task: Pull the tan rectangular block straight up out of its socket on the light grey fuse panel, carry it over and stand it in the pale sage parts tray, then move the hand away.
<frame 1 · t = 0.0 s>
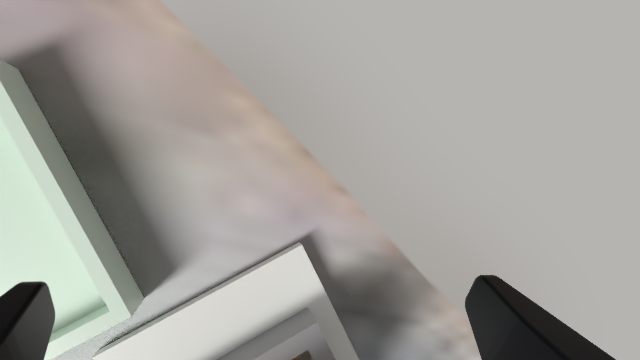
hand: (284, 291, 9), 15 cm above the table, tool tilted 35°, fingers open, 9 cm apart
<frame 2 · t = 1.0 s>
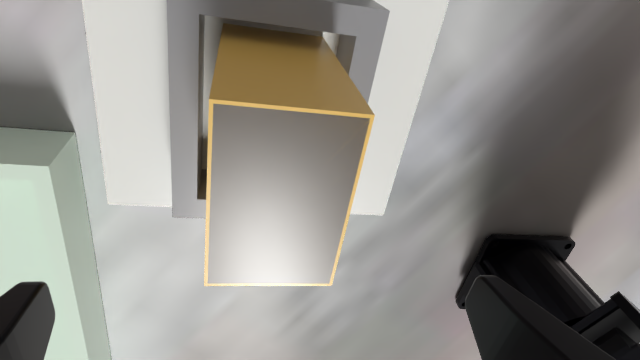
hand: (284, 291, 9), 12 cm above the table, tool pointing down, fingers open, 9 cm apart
fuse panel: (266, 92, 19), on the table
tan rectangular block: (267, 100, 18), point 1 cm above the table, touching fuse panel
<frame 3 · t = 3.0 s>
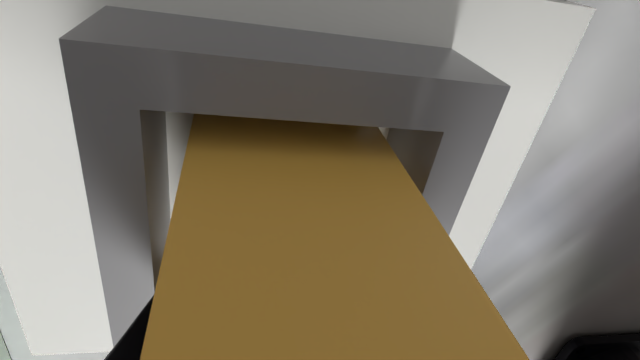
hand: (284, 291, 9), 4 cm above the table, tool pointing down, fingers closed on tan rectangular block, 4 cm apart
fuse panel: (271, 186, 12), on the table
tan rectangular block: (274, 206, 11), point 1 cm above the table, touching fuse panel, gripper
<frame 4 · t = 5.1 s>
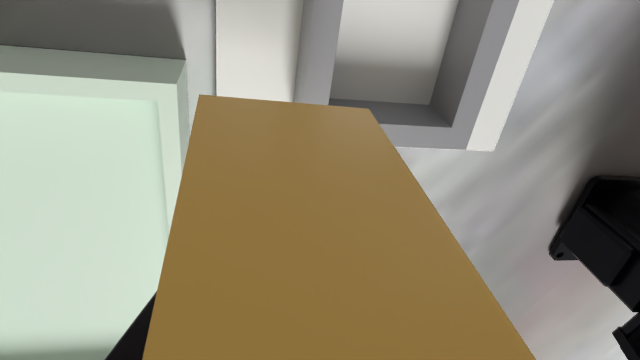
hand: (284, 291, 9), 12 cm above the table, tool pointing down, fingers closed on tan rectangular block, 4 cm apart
fuse panel: (385, 11, 17), on the table
tan rectangular block: (275, 205, 11), point 9 cm above the table, touching gripper
parts tray: (60, 243, 21), on the table
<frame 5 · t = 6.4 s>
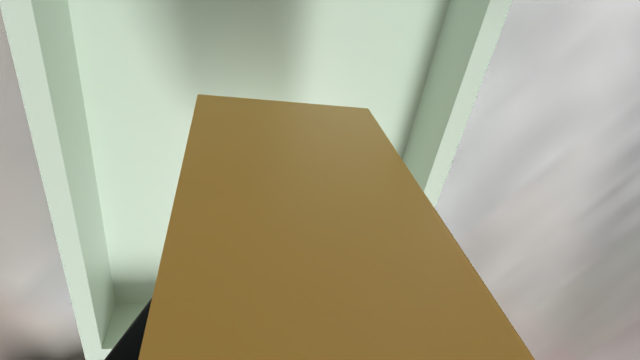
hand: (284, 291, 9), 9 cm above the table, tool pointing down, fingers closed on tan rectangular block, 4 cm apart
tan rectangular block: (274, 205, 11), point 6 cm above the table, touching gripper
parts tray: (260, 120, 16), on the table
when the fingers open (5 cm above the table, at t = 7.7 s): tan rectangular block drops 2 cm, resting on parts tray.
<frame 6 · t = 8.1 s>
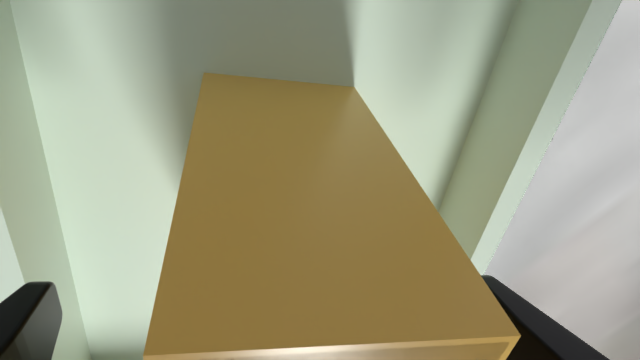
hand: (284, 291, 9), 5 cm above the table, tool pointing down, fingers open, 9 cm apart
tan rectangular block: (271, 175, 12), point 1 cm above the table, touching parts tray
parts tray: (268, 168, 13), on the table
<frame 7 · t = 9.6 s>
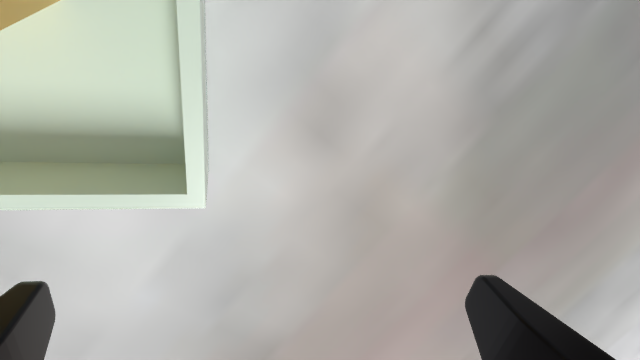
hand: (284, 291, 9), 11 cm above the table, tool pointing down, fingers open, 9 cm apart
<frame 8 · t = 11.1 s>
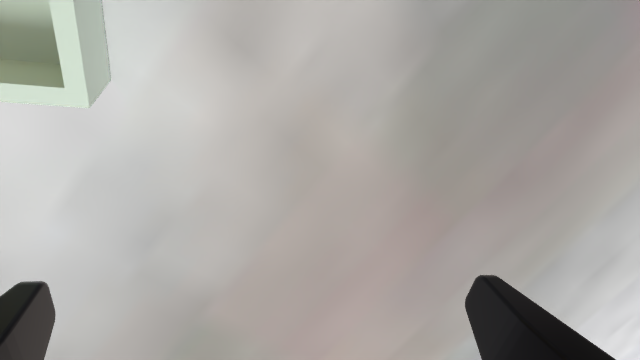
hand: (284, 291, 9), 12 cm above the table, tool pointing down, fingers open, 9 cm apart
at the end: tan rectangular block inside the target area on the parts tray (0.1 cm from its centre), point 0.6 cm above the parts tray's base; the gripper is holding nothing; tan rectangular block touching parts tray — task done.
